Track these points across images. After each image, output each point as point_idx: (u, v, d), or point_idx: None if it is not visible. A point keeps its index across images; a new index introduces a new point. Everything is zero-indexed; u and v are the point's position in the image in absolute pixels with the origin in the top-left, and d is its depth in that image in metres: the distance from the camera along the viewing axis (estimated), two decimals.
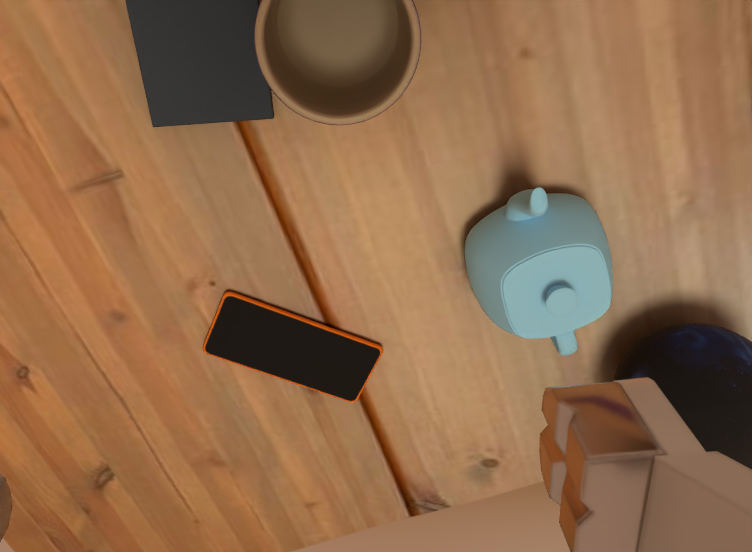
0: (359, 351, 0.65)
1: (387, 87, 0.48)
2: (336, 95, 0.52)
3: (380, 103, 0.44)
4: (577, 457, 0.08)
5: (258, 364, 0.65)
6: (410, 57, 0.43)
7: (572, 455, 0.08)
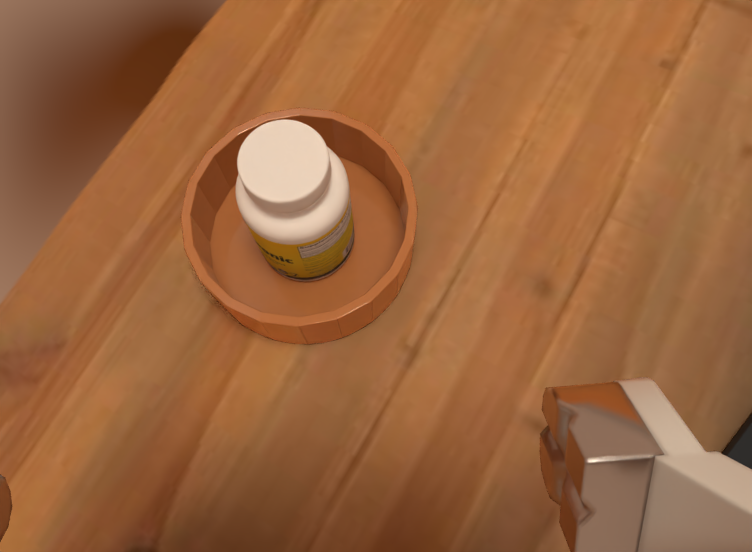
0: None
1: None
2: None
3: None
4: (577, 457, 0.08)
5: None
6: None
7: (572, 455, 0.08)
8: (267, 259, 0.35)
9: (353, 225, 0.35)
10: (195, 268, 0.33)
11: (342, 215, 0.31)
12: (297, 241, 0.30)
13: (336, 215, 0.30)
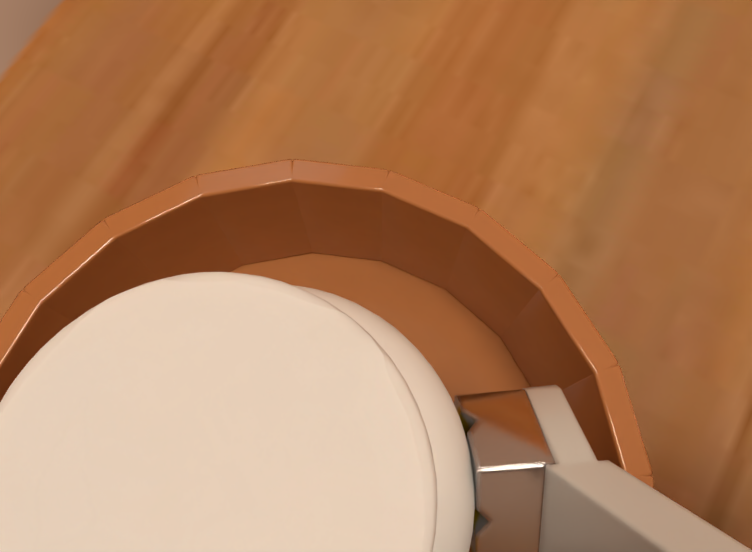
0: None
1: None
2: None
3: None
4: (472, 466, 0.08)
5: None
6: None
7: None
8: None
9: None
10: None
11: None
12: None
13: None
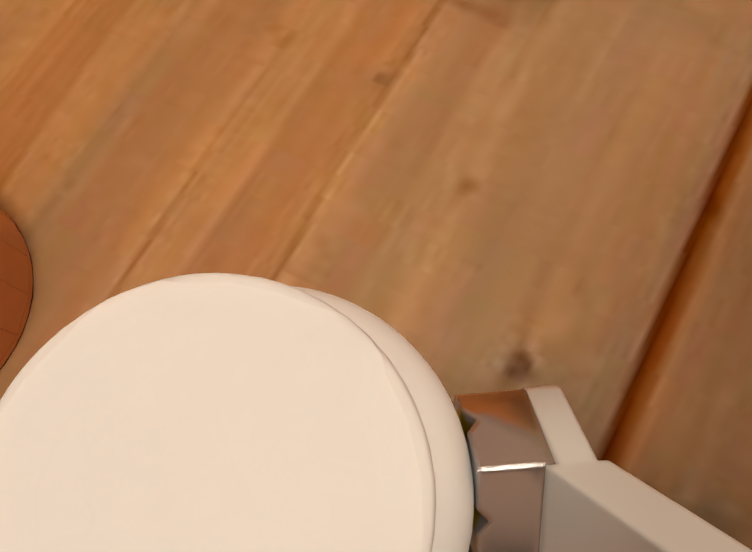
0: None
1: None
2: None
3: None
4: (473, 466, 0.08)
5: None
6: None
7: None
8: None
9: None
10: None
11: None
12: None
13: None
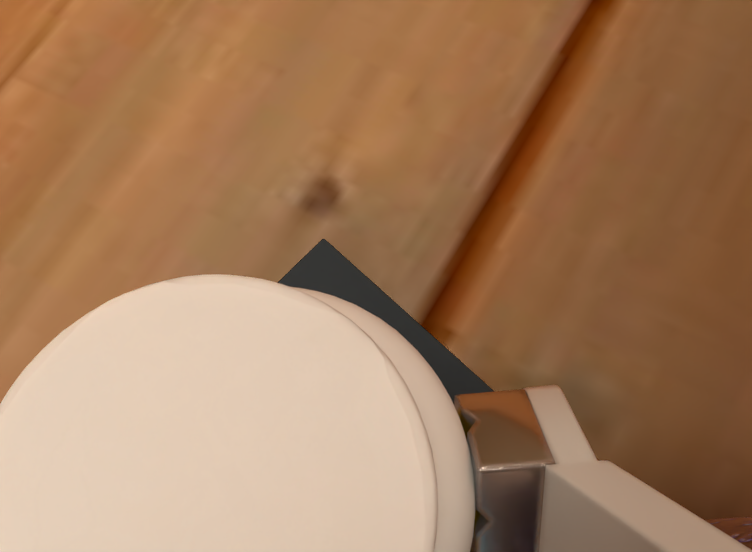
0: None
1: None
2: None
3: None
4: (472, 465, 0.08)
5: None
6: None
7: None
8: None
9: None
10: None
11: None
12: None
13: None
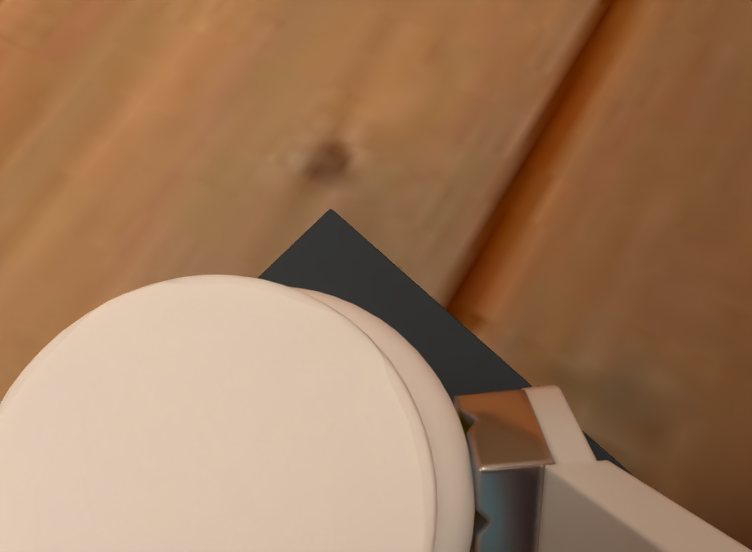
0: None
1: None
2: None
3: None
4: (472, 466, 0.08)
5: None
6: None
7: None
8: None
9: None
10: None
11: None
12: None
13: None
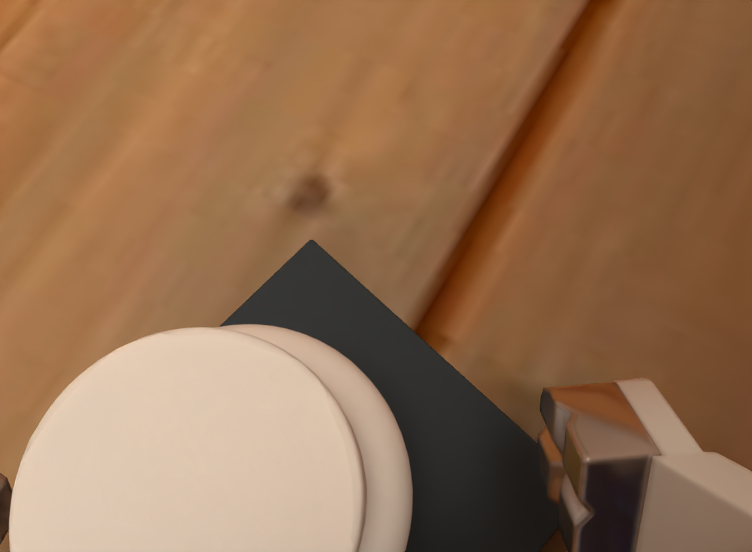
0: None
1: None
2: None
3: None
4: (575, 457, 0.08)
5: None
6: None
7: (570, 455, 0.08)
8: None
9: None
10: None
11: None
12: None
13: None
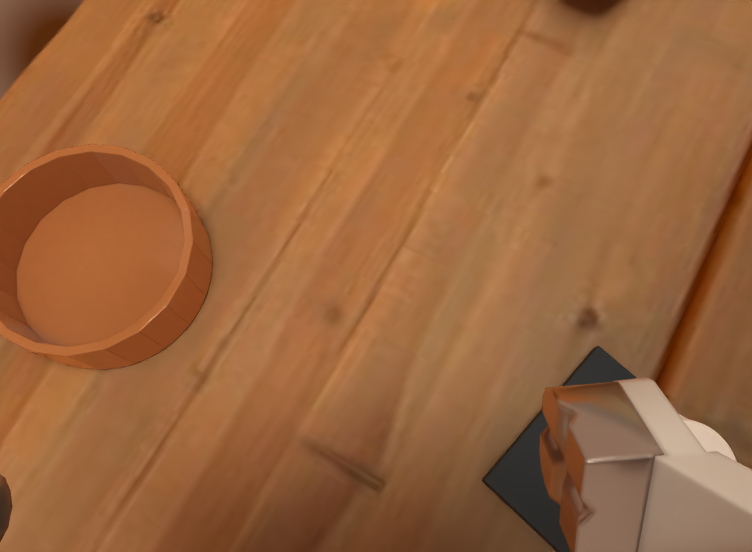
0: None
1: None
2: None
3: None
4: (577, 457, 0.08)
5: None
6: None
7: (572, 455, 0.08)
8: None
9: None
10: None
11: None
12: None
13: None
